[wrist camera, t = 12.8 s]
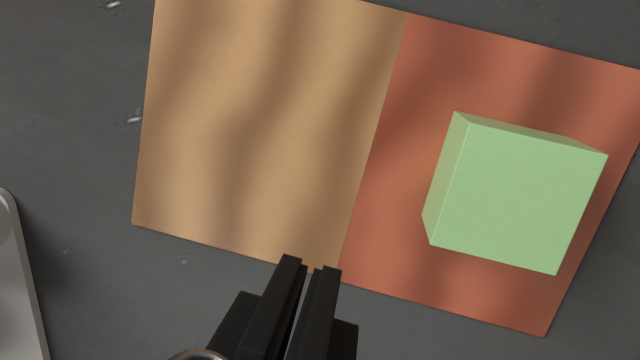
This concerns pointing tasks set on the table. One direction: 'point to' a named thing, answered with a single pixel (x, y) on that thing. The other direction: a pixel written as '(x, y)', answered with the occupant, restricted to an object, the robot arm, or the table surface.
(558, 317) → the table surface
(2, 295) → the phone holder
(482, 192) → the green block
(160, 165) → the plate
